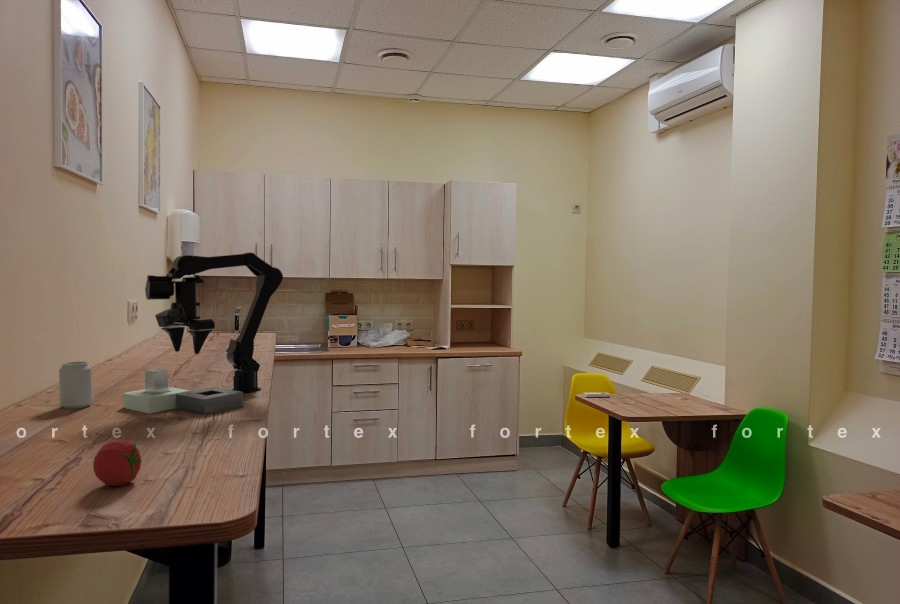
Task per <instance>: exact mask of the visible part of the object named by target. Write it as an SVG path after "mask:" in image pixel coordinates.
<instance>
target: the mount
mask: <svg viewBox="0 0 900 604" xmlns="http://www.w3.org/2000/svg"><path fill="white" fill-rule="evenodd" d="M189 391H190V392H185V393H180V394H176V408H175V410H179V411H183V412H187V413H189V412H190V413H193V414H199V415H201V416H202V415H204V416H206V415H211V414H215V413H220V412H223V411H229V410H234V409H238V408H241V407H244V395H243V394H244V393H243V392H241V391H235V390H231V389H228V388H223V387H216V386H213V387H207V388H202V389H201V388H200V389H197V390H196V389H195V390H192V391H191V390H189Z"/></svg>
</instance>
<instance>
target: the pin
mask: <svg viewBox="0 0 900 604" xmlns="http://www.w3.org/2000/svg"><path fill="white" fill-rule="evenodd" d="M168 376H169V373H168V369H165V368H159V367H158V368H152V369H151V368H150V369H145V370H144V381H145V382H144V383H145V384H144V385H145V387H144V389H145V393H147V394H152V395H155V394H160V393H166V392H168V387H169V378H168Z"/></svg>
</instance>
